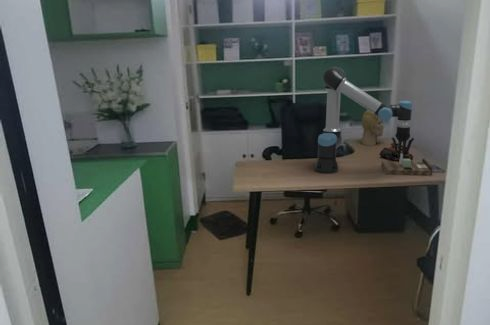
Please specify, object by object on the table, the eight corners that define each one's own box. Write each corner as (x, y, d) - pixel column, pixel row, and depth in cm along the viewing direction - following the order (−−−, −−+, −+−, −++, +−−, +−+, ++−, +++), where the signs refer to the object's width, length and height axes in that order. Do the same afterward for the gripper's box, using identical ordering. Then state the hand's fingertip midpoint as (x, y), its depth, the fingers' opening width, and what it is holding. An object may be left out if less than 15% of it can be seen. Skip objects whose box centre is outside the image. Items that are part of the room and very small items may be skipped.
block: (402, 166, 226) (402, 160, 225) (400, 164, 231) (401, 158, 230) (410, 167, 225) (411, 160, 224) (409, 164, 230) (409, 158, 229)
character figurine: (391, 136, 260) (418, 147, 235) (396, 149, 265) (423, 160, 239) (372, 149, 259) (397, 160, 234) (377, 161, 264) (402, 174, 238)
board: (386, 174, 223) (386, 165, 221) (381, 165, 240) (382, 157, 239) (431, 175, 217) (432, 166, 216) (423, 166, 235) (424, 158, 234)
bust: (384, 146, 290) (387, 109, 282) (361, 146, 294) (363, 109, 286) (381, 141, 307) (384, 106, 299) (360, 141, 311) (361, 106, 303)
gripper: (393, 127, 220) (390, 164, 226) (416, 127, 217) (413, 165, 223) (391, 125, 227) (388, 161, 233) (413, 125, 224) (410, 161, 230)
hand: (400, 163), depth 228 cm, fingers closed
